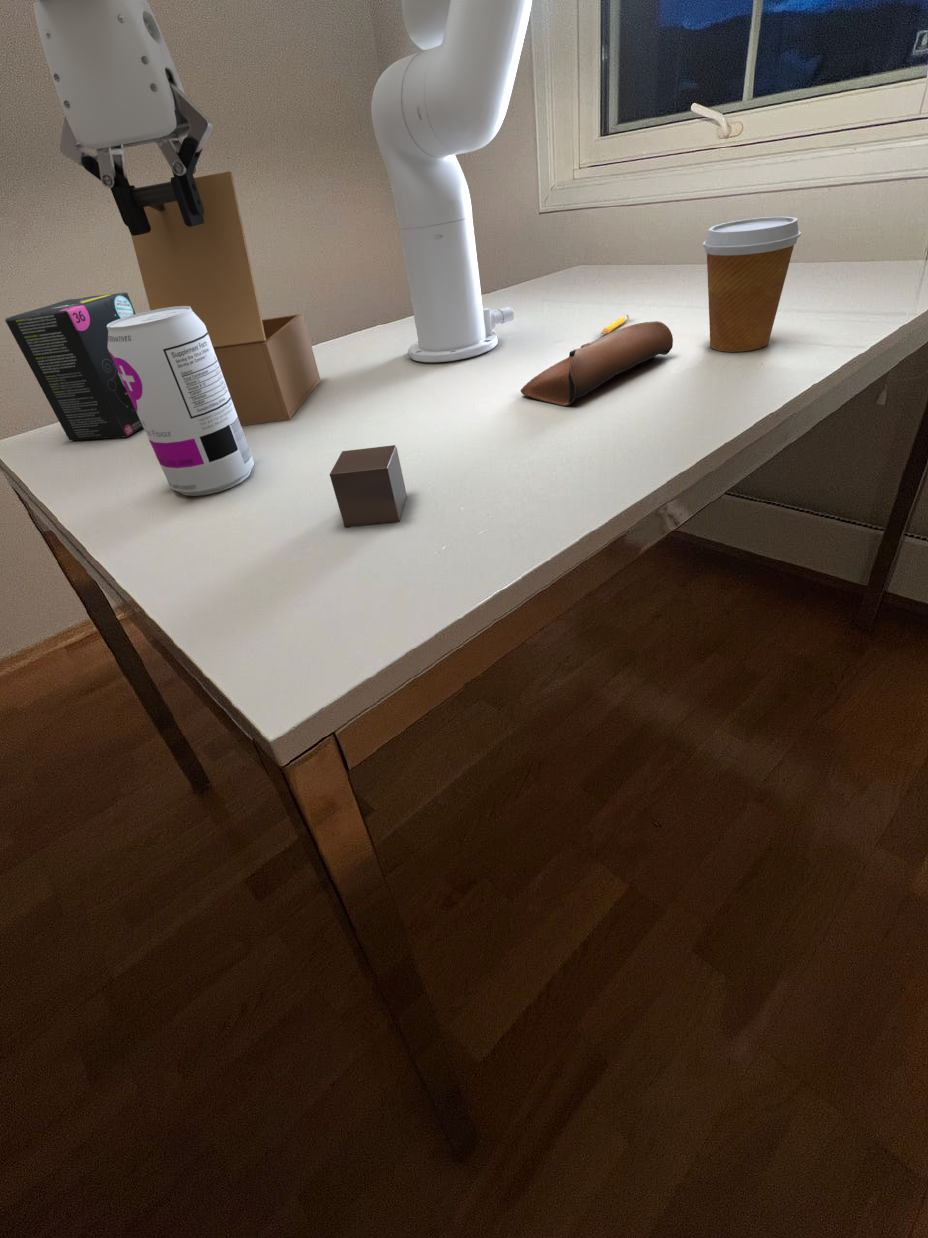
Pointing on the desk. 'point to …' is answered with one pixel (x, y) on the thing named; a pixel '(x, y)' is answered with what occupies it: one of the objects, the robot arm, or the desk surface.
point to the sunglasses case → (599, 362)
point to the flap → (200, 260)
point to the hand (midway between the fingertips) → (167, 227)
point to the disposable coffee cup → (747, 279)
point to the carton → (270, 371)
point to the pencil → (615, 324)
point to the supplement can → (181, 399)
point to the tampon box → (79, 364)
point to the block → (369, 486)
